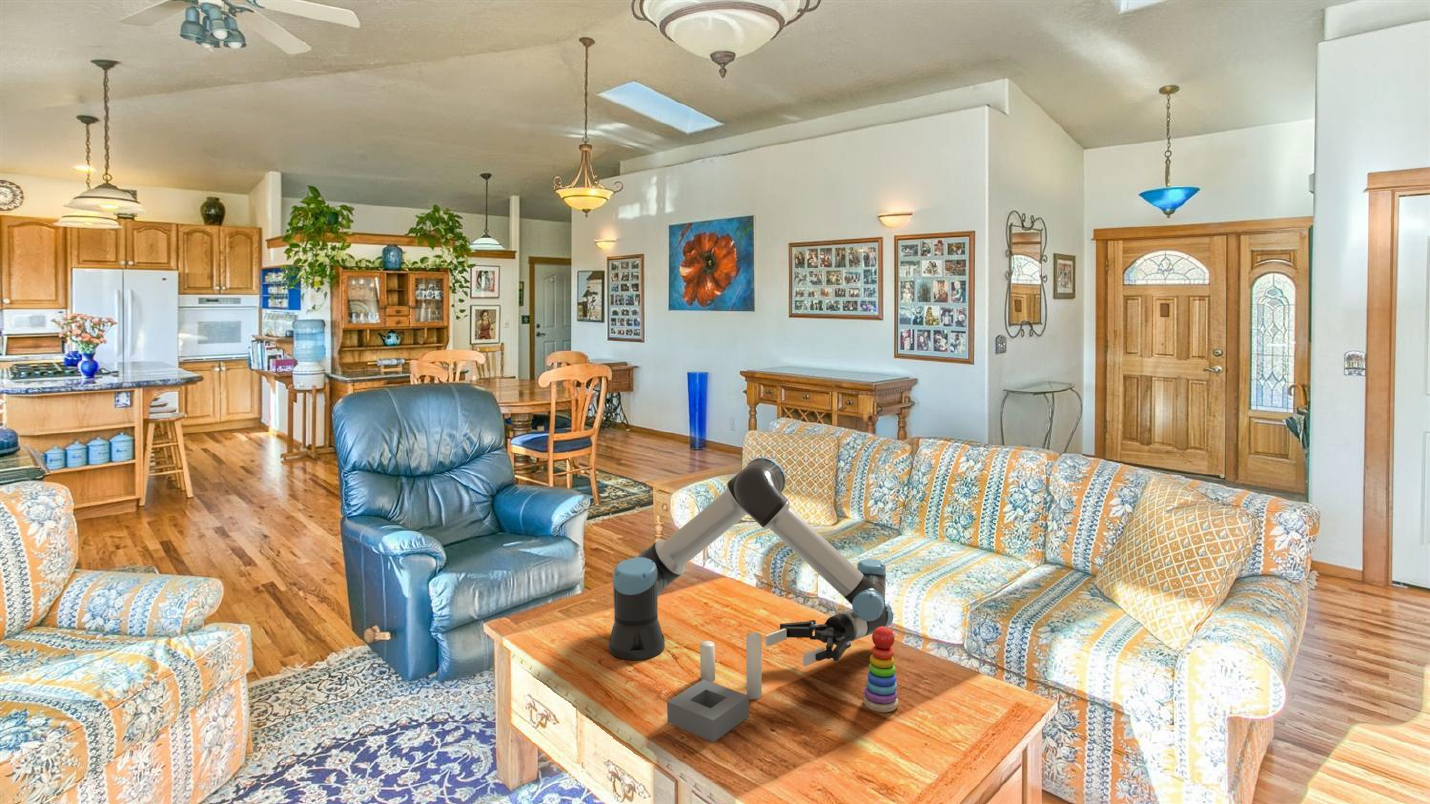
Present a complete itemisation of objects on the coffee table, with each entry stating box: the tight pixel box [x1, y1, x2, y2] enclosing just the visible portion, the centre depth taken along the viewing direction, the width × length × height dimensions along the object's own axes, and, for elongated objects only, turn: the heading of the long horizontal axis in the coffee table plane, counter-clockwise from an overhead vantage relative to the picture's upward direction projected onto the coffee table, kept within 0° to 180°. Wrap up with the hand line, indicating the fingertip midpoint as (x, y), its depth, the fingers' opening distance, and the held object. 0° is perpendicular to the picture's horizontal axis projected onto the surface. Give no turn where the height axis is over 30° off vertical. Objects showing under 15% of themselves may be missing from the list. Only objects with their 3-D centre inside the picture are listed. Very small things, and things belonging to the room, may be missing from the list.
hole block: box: [666, 679, 750, 743], centre depth 176 cm, size 13×13×5 cm
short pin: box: [699, 640, 716, 682], centre depth 195 cm, size 4×4×9 cm
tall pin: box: [745, 631, 763, 700], centre depth 186 cm, size 4×4×15 cm
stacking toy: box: [863, 626, 900, 713], centre depth 181 cm, size 8×8×19 cm
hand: (784, 650), depth 191 cm, fingers open, 13 cm apart
